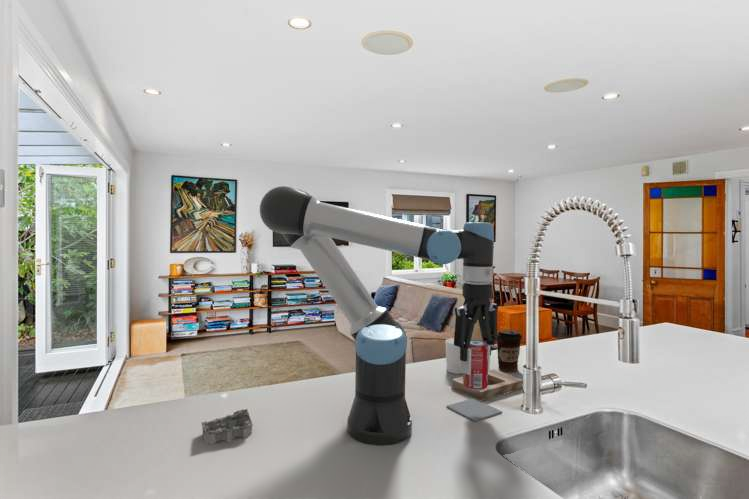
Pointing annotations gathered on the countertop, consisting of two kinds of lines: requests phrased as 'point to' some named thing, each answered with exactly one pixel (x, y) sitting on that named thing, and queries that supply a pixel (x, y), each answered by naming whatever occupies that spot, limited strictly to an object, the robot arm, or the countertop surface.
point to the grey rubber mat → (474, 409)
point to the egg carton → (217, 430)
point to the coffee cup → (508, 349)
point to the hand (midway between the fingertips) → (475, 370)
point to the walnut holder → (500, 381)
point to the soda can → (477, 366)
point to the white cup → (453, 357)
